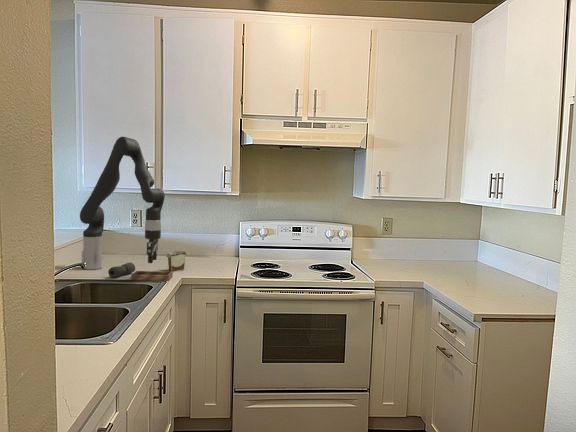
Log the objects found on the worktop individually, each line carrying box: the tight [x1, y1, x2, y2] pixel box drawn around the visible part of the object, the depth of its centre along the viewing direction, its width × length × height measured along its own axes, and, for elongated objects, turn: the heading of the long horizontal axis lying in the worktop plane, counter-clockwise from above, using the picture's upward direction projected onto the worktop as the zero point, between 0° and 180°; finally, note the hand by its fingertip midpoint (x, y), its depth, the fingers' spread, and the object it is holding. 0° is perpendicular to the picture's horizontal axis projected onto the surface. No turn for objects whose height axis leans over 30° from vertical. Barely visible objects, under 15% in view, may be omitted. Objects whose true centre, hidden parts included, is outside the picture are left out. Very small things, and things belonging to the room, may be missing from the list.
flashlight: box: [108, 261, 137, 278], centre depth 237 cm, size 15×5×5 cm, turn 162°
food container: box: [166, 250, 187, 273], centre depth 255 cm, size 12×6×10 cm, turn 149°
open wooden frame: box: [130, 270, 174, 282], centre depth 234 cm, size 18×10×2 cm, turn 94°
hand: (152, 261), depth 233 cm, fingers open, 8 cm apart
